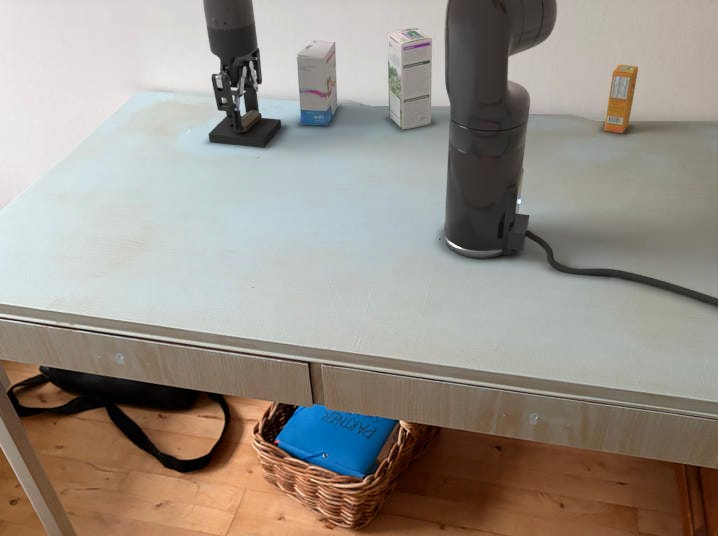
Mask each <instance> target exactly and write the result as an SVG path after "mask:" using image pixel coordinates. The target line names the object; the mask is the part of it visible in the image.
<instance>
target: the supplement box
mask: <svg viewBox="0 0 718 536" xmlns="http://www.w3.org/2000/svg"><path fill="white" fill-rule="evenodd" d="M638 72H639V66H636V65H629V64H618V65H617V66H616V67H615V69H614V70H613V71H612V75H611V81H610V89H609V96H608V102H607V109H606V114H605V120H604V121H605V122H604V128H603V130H604V132H609V133H616V134H624V132H625V131H626V129H627V128H628V126H629V124H630V118H631V112H632V107H633V101H634V95H635V90H636V84H637V78H638Z"/></svg>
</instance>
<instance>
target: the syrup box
mask: <svg viewBox="0 0 718 536" xmlns="http://www.w3.org/2000/svg"><path fill="white" fill-rule="evenodd" d="M432 68H433V37H431V36H430V35H428V34H426V33H425V32H424V31H422V30H420V29H419V28H417V27H416V28H415V27H413V28H406V29H405V28H404V29H401V30H396V31H393V32H388V33H387V73H388V74H387V75H388V76H387V79H388V81H387V82H388V83H387V84H388V118H389V119H390V120H391V121H392V122H393V123H394V124H395V125H396V126H397V127H398V128H399V129H401V130H409V129H415V128H418V127H424V126H427V125H431V123H432V82H433V81H432V79H433V78H432V77H433V76H432V75H433V69H432Z"/></svg>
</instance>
